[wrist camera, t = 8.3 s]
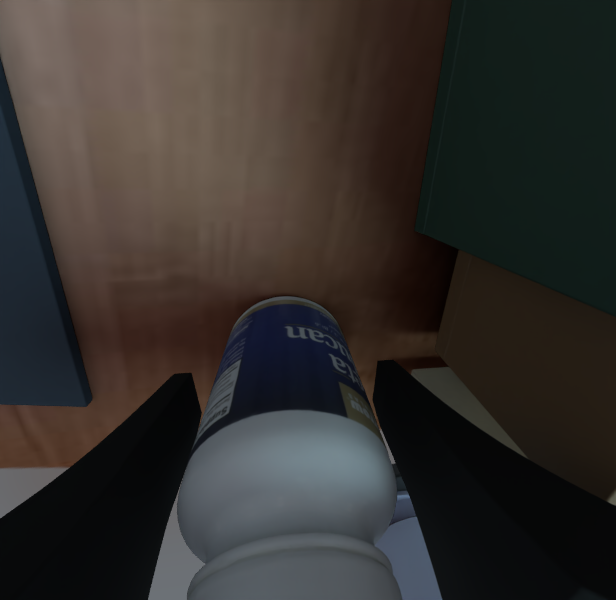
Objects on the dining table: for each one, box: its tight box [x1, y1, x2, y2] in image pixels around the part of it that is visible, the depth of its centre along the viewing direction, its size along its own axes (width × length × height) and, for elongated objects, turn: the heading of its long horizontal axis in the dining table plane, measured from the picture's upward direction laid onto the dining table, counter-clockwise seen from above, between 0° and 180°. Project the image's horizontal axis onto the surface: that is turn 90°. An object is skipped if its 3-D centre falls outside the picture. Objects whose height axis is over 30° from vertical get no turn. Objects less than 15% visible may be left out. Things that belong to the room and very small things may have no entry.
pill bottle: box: [177, 296, 402, 600], centre depth 8 cm, size 5×5×10 cm
